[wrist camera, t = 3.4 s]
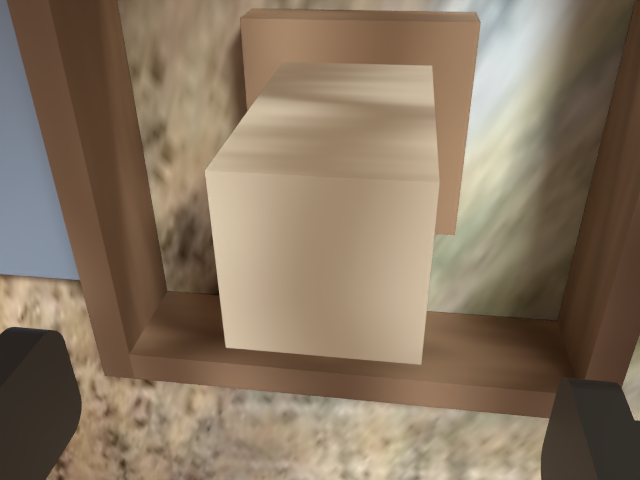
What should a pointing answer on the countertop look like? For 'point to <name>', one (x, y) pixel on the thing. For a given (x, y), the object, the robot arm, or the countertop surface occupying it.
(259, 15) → the brown wooden square frame
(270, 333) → the maple block
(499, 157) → the countertop surface
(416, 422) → the countertop surface
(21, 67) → the pad
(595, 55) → the countertop surface
